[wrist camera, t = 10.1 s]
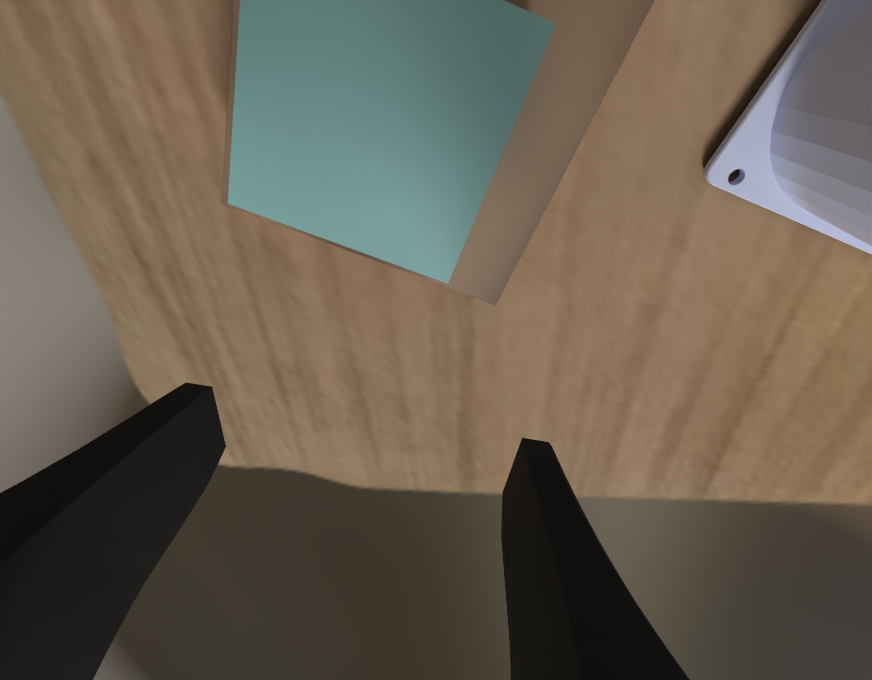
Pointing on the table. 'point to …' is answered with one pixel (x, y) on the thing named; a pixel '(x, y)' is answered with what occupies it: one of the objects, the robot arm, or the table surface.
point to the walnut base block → (523, 134)
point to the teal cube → (378, 118)
